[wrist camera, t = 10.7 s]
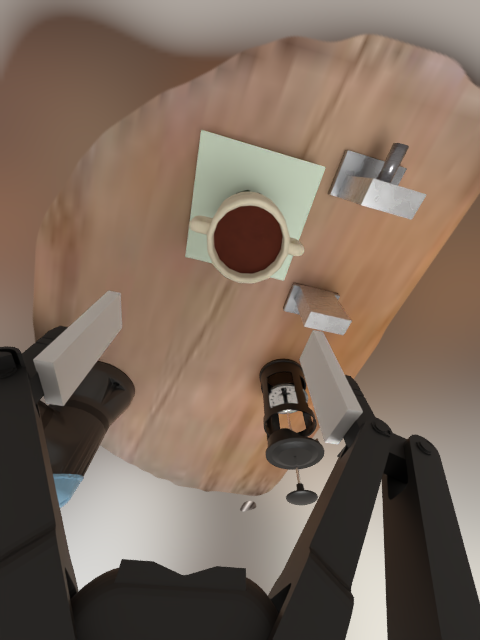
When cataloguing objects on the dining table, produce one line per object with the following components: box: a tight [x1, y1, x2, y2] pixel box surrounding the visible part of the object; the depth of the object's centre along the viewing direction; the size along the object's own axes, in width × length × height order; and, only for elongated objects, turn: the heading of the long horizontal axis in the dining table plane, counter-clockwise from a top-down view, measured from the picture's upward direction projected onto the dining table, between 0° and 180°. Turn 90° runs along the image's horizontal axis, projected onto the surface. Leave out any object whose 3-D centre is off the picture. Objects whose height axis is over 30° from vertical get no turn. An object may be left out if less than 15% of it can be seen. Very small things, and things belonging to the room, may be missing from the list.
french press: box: [260, 359, 324, 505], centre depth 42 cm, size 12×9×23 cm
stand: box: [185, 130, 326, 281], centre depth 33 cm, size 15×15×4 cm
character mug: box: [189, 190, 304, 284], centre depth 26 cm, size 11×7×13 cm, turn 77°
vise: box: [283, 143, 426, 335], centre depth 33 cm, size 8×25×9 cm, turn 166°
